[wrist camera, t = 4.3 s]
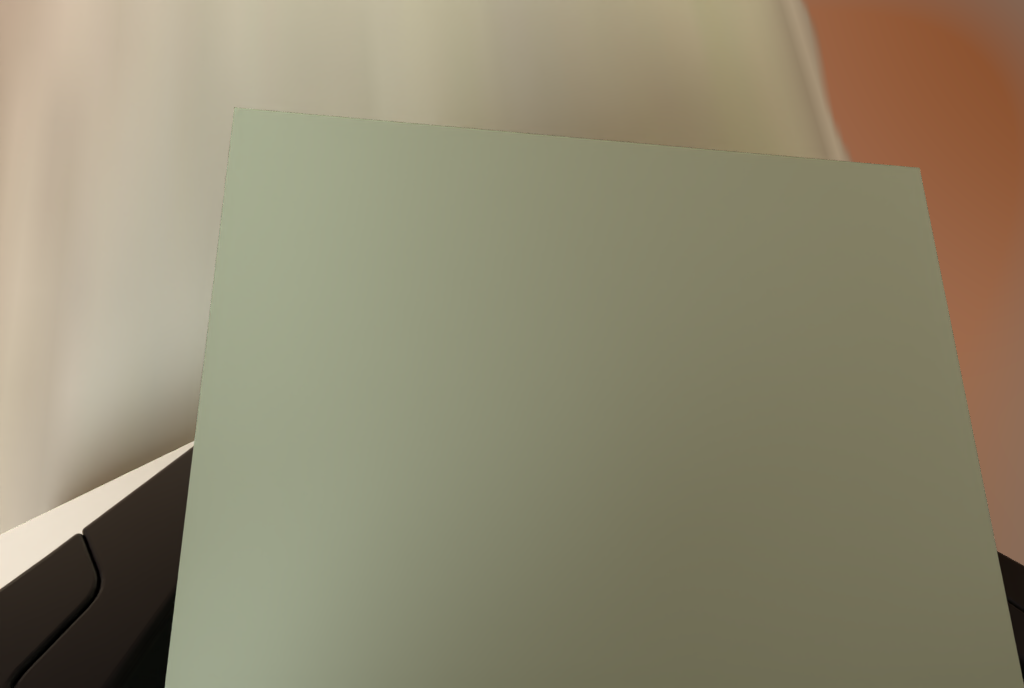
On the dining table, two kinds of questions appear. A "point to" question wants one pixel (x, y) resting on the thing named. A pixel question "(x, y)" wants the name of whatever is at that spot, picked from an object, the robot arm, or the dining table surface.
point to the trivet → (70, 519)
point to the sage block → (578, 423)
